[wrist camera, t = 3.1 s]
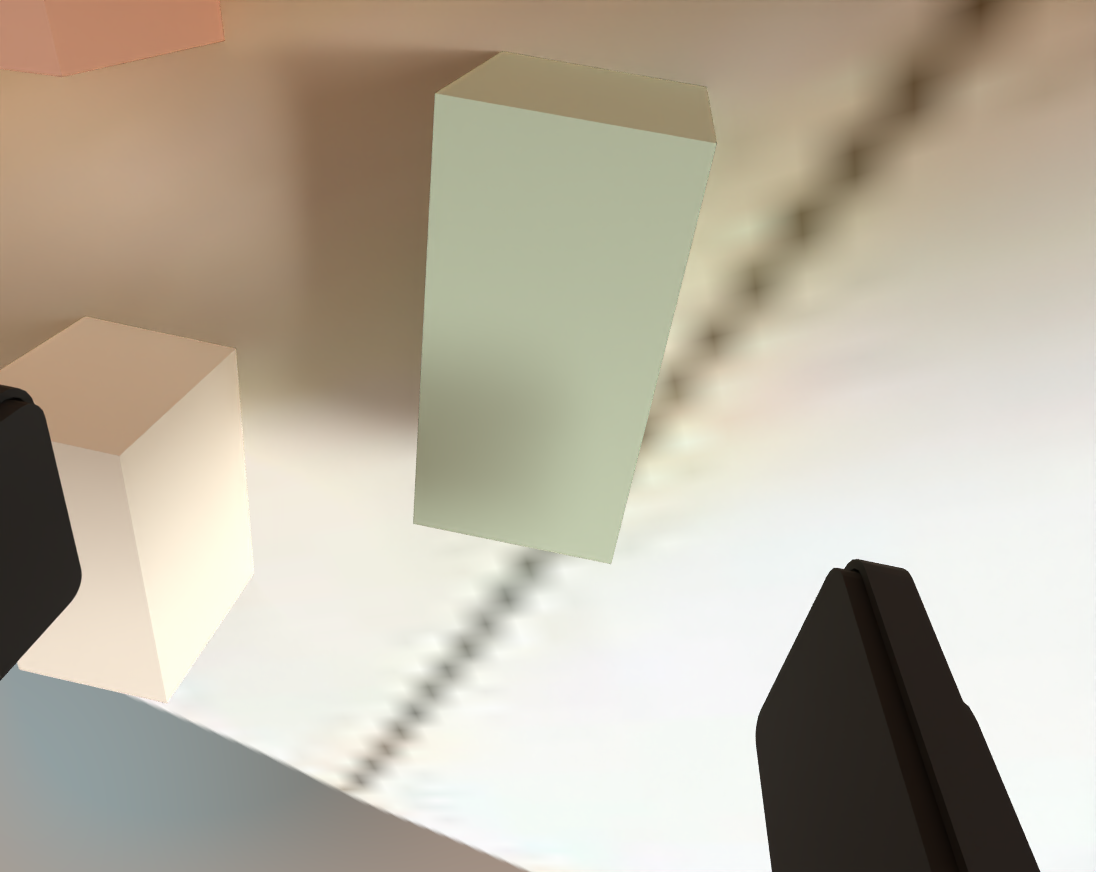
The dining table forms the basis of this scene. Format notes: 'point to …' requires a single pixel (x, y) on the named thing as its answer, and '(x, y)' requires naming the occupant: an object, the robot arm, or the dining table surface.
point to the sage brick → (551, 293)
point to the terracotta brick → (100, 32)
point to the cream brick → (141, 500)
